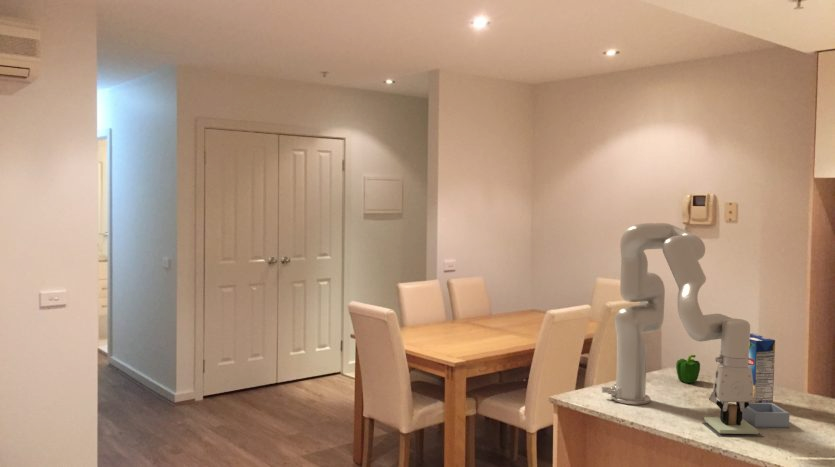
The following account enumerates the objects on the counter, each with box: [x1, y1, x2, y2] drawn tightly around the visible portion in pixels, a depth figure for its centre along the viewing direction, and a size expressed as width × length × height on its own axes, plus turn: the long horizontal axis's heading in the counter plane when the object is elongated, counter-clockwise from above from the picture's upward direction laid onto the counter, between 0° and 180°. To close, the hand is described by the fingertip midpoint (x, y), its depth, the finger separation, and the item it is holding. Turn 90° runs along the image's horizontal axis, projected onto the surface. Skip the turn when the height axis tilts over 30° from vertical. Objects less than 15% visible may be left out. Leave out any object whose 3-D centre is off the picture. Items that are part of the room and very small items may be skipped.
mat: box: [702, 422, 765, 438], centre depth 204 cm, size 13×12×1 cm
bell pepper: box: [675, 354, 701, 384], centre depth 258 cm, size 8×8×10 cm
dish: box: [742, 402, 790, 429], centre depth 211 cm, size 10×10×5 cm
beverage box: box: [748, 333, 776, 404], centre depth 232 cm, size 7×11×22 cm, turn 11°
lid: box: [703, 402, 760, 434], centre depth 204 cm, size 11×11×7 cm
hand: (730, 422), depth 205 cm, fingers closed on lid, 3 cm apart
